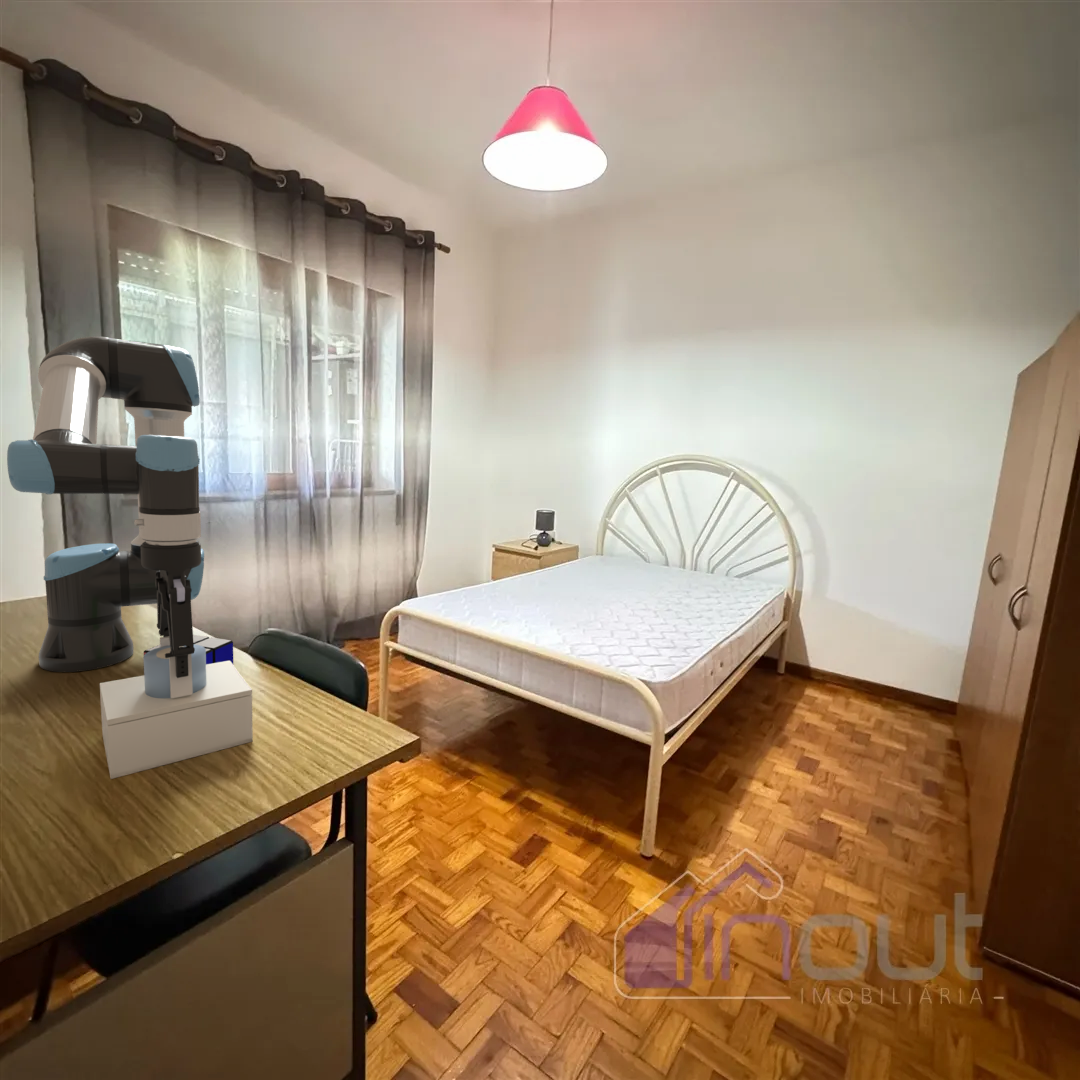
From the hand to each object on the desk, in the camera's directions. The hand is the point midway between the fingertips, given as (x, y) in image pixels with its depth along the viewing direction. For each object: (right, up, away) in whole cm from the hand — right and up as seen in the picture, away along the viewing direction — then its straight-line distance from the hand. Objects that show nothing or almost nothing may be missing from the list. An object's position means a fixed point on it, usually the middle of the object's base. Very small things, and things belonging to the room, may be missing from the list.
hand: (176, 685), depth 87 cm
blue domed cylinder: (0, 0, 0) cm, 0 cm away
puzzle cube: (-7, -7, +16) cm, 19 cm away
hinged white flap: (0, -1, 0) cm, 1 cm away
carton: (-1, -9, +2) cm, 9 cm away
